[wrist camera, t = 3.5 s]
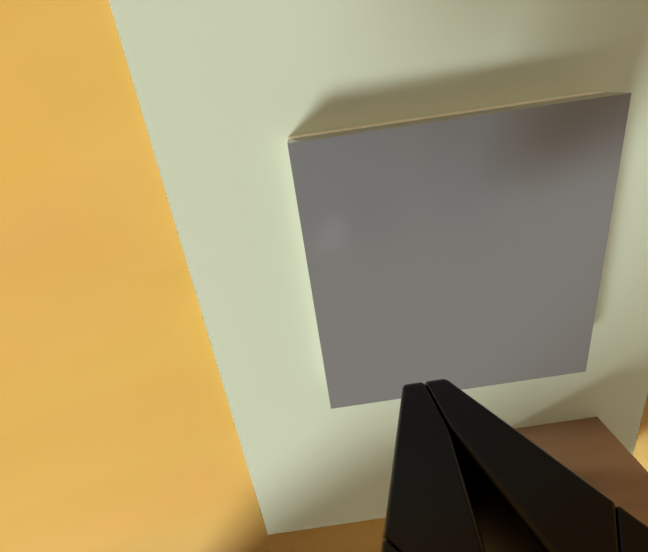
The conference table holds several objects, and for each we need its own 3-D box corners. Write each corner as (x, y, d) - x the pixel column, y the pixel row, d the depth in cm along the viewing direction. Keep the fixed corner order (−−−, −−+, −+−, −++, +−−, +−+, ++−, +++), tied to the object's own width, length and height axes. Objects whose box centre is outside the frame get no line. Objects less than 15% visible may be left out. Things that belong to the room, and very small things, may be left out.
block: (584, 481, 19) (673, 602, 15) (499, 493, 19) (561, 618, 15) (597, 416, 18) (700, 530, 13) (504, 429, 18) (575, 548, 13)
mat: (619, 475, 20) (625, 482, 20) (268, 526, 20) (267, 535, 20) (762, -122, 11) (778, -129, 10) (106, -25, 11) (100, -28, 10)
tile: (327, 379, 16) (559, 345, 16) (330, 408, 15) (585, 371, 15) (288, 136, 12) (591, 91, 12) (287, 143, 11) (631, 92, 11)
